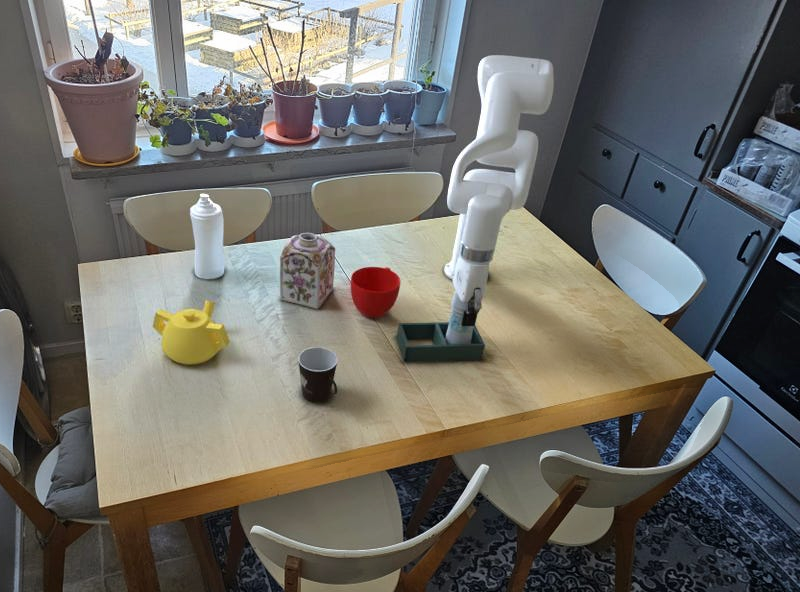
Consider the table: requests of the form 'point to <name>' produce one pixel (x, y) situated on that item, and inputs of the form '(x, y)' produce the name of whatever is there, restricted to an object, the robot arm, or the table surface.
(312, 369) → the coffee mug
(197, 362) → the teapot
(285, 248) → the decorative jar
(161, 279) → the table surface
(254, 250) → the table surface
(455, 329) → the bottle
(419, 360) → the tray
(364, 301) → the ceramic cup
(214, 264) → the spray can
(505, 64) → the robot arm
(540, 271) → the table surface
